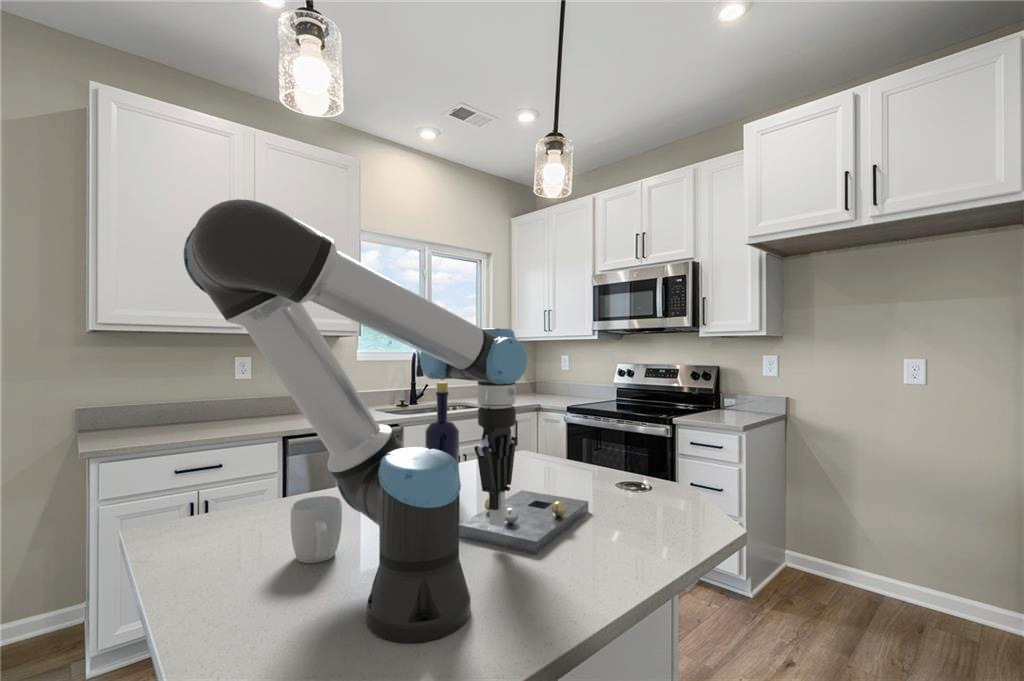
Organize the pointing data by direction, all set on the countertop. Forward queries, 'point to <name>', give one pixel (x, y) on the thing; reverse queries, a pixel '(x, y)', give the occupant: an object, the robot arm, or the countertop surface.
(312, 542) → the mug
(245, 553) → the countertop surface
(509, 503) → the plate
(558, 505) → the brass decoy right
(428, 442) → the bottle
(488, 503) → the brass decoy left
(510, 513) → the steel ball
